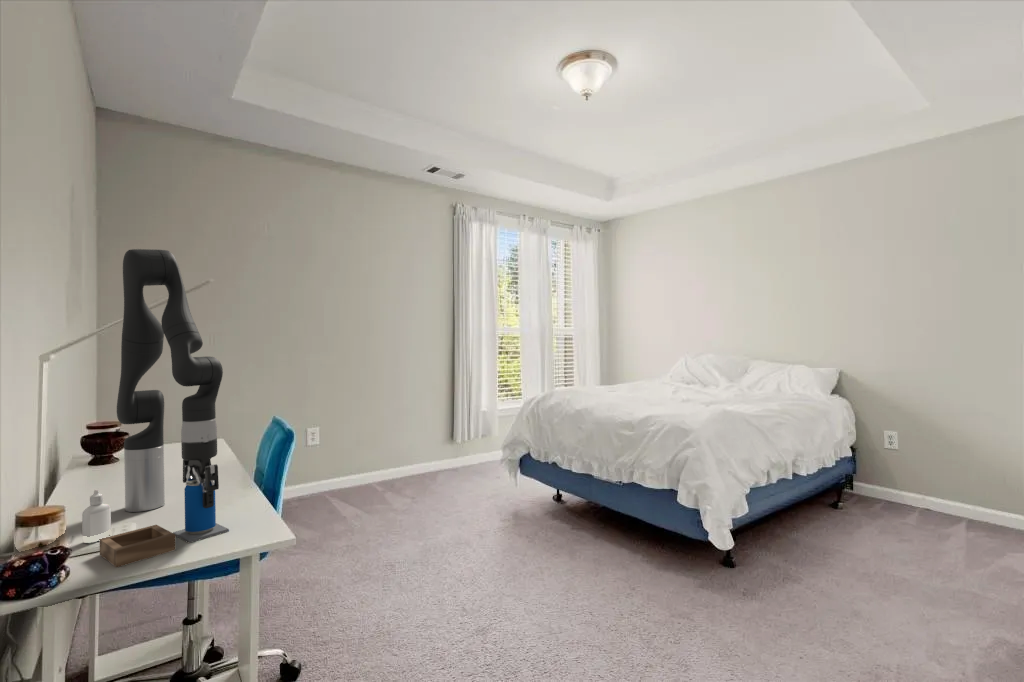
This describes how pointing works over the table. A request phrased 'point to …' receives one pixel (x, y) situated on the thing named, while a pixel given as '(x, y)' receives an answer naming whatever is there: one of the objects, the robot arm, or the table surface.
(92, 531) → the eye dropper bottle
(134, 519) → the table surface
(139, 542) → the walnut collar
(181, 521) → the table surface
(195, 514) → the beverage can
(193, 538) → the rubber mat
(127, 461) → the robot arm
